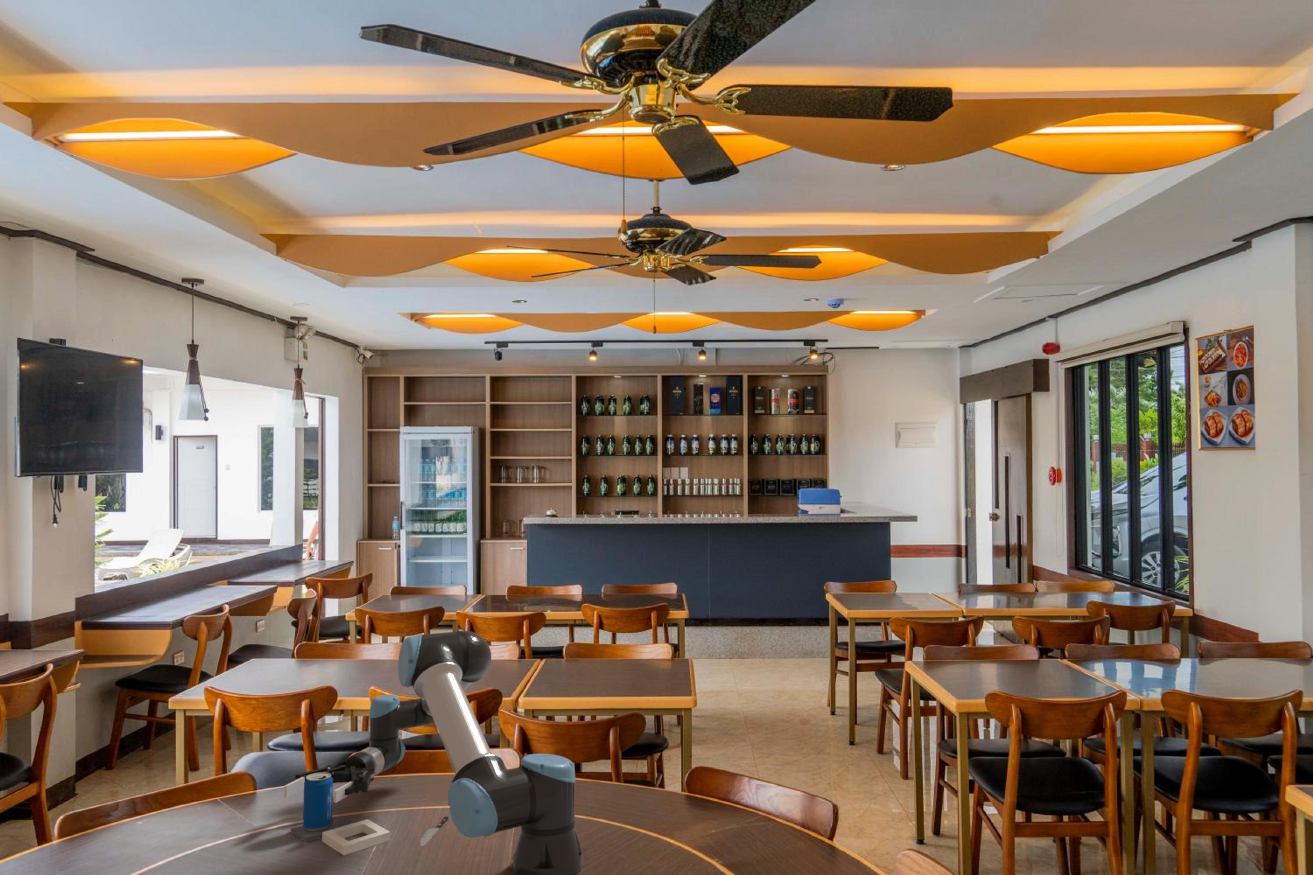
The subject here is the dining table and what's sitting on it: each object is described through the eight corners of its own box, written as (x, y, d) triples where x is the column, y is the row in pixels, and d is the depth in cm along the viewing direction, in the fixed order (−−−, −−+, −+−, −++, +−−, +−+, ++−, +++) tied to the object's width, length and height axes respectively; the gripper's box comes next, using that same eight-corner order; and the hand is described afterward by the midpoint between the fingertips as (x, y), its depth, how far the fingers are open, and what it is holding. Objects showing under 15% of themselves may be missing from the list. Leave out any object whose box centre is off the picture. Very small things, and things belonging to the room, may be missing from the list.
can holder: (389, 840, 198) (389, 831, 199) (343, 855, 190) (343, 846, 191) (367, 827, 206) (367, 818, 206) (322, 840, 198) (322, 832, 199)
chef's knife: (407, 852, 193) (419, 852, 193) (407, 847, 193) (419, 847, 193) (437, 819, 212) (449, 819, 212) (437, 815, 212) (449, 814, 212)
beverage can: (321, 833, 200) (322, 781, 201) (297, 831, 202) (298, 779, 202) (337, 822, 207) (338, 772, 207) (313, 820, 208) (314, 770, 209)
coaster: (343, 831, 204) (343, 826, 204) (306, 842, 198) (306, 837, 198) (327, 821, 210) (327, 816, 210) (290, 831, 204) (290, 827, 204)
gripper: (404, 784, 219) (355, 815, 198) (321, 776, 225) (265, 805, 205) (405, 755, 219) (356, 782, 199) (321, 748, 226) (265, 773, 205)
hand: (309, 794), depth 202 cm, fingers open, 13 cm apart
